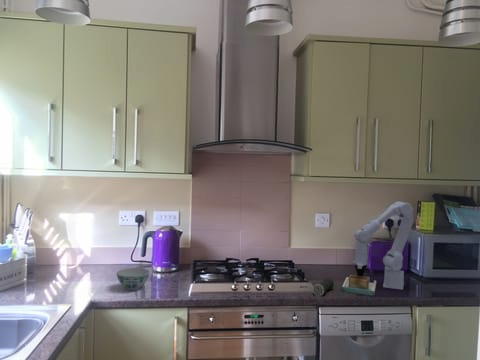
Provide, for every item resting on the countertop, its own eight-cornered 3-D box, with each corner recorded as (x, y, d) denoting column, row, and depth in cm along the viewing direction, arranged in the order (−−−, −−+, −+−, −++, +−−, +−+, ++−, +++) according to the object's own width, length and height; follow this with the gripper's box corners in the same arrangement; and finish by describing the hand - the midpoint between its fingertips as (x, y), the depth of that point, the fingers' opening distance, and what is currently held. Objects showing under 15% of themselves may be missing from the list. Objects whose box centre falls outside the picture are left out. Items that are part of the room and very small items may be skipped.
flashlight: (324, 287, 196) (324, 276, 196) (334, 289, 193) (335, 278, 193) (312, 294, 183) (312, 283, 183) (323, 297, 180) (323, 285, 180)
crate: (368, 288, 193) (369, 277, 193) (367, 292, 187) (368, 280, 187) (350, 285, 197) (350, 274, 196) (348, 289, 190) (348, 278, 190)
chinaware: (139, 294, 175) (140, 277, 175) (110, 291, 179) (110, 274, 179) (154, 285, 190) (154, 269, 190) (126, 282, 193) (127, 266, 193)
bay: (376, 284, 203) (376, 280, 203) (373, 295, 184) (374, 291, 184) (346, 280, 208) (346, 276, 208) (341, 291, 190) (341, 286, 190)
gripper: (354, 249, 207) (353, 275, 207) (351, 255, 193) (350, 282, 193) (368, 251, 204) (367, 276, 204) (366, 256, 190) (365, 284, 191)
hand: (360, 279), depth 199 cm, fingers closed
